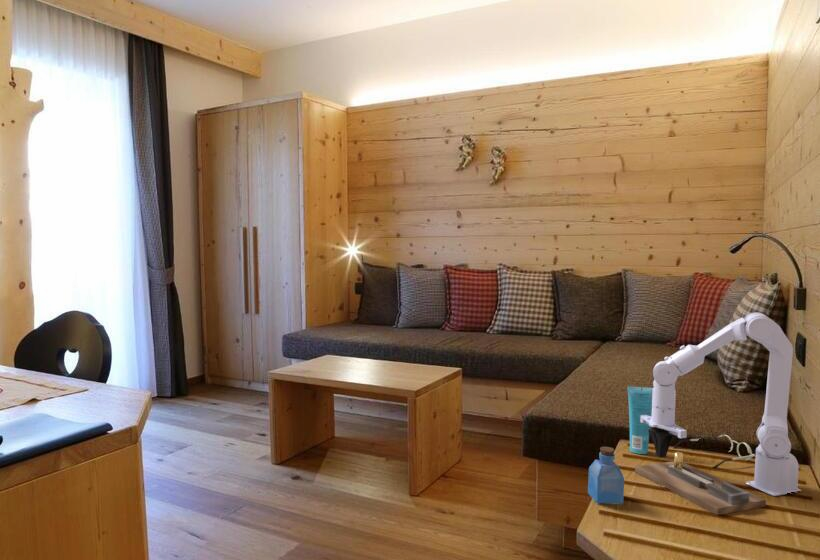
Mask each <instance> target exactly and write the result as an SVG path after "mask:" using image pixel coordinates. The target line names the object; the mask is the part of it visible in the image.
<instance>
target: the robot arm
mask: <svg viewBox="0 0 820 560" xmlns="http://www.w3.org/2000/svg"><path fill="white" fill-rule="evenodd" d="M747 336H748V337H749V338H751V339H752V340H753V341H755V342H757V343H759V344H761V345H762V346H763V347H764V348H766V349H767V351H769V357H768V365H767V366H768V367H767V368H768V369H767V378H766V379H767V380H766V391H765V392H766V393H765V401H764V402H765V403H764V412H763V415H762V418H761V423H760V425H759V427H757V429H756V437H757V440H758V441H759V444H758V446H757V447H756V448H755V455H756V456H755V457H754V458H755V463H754V476H753V479H754V480H750V481H746V482H745V485H748V486H750V487H751V488H754V489H756V490H758V491H762V492H763V493H766V494H768V495H770V496H771V497H778V496H782V495H788V494H787V493H790V494H792V493H791V492H795V493H797V492H796V491H800V492H801V491H802V489H800V488H799V485H798V484H799V466H800V465H799V462H798V460H797V458H796V456H794V454H792V453H791V449H792V443H791V440H790V439H789V436H788V435H789V427H788V421H787V419H788V410H789V397H790V388H791V377H792V368H793V367H792V366H793V365H792V364H793V353H794V347H793V345H792V343H791V342H790V340H789V339H788V337H787V336H786V334H785V333H784V331H783V329H782V328H781V326H780V325H779V324H778V323H777V322H775V321H774V320H773V319H771V318H770V317H768V315H766V314H765V313H762V312H758V311H757V312H755V311H754V312H750V313H748V314H746V315H745V316H744V317H740V318H738V319H736V320H734V321H732V322H731V323H729V324H728V325H726V326H724V327H722V328H721V329H720V330H718V331H717V332H715V333H714V334H712V335H711V336H709V337H708V338H706V339H705V340H703V341H702V342H700V343H699V344H697V345H693V344H687V345H686V346H685V344H683V345H681V346H680V347H679V350H678V351H676V352H675V353H673V354H672V355H669V356H668V355H667V356H665V357H664V358H663V359H664V360H662V361H658V362H657V363H656V364H655V365H654V367H653V369H652V375H653V379H654V380H653V381H652V384H653V385H652V386H653V387H652V388H653V393H652V410H651V416H648V415H641V419H640V422H641V423H646V424H649V426H650V429H649V430H648V432H649V436H650V438H651V439H652V443H653V446H654V450H655V456H657V457H658V458H666V457H667V455H668V451H669V449H670V447H671V445H672V442H673V441H674V439H675V437H677V438H678V439H687V437H688V436H687V434H688V432H687V429H684V428H682V427H681V426H680V425H678V424H676V423H675V419H676V398H677V396H676V395H677V391H676V382H677V380H678V377H681V376H684V375H686V374H688V373H689V372H692V371H693V370H695V369H696V368H698V367H699V366H701V365H703V364H704V362H705V357H706V356H707V355H709V354H711V353H713V352H715V351H717V350H718V349H720V348H722V347H724V346H726V345H727V344H729V343H731V342H732V341H748V339H747Z"/></svg>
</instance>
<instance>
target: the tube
mask: <svg viewBox="0 0 820 560" xmlns="http://www.w3.org/2000/svg"><path fill="white" fill-rule="evenodd" d="M653 388H654V387H642V386H641V387H640V386H639V387H638V386H629V385H628V386H627V395H628V417H629V419H628V420H629V451H630V453H631V452H632V453H634V454H637V455H647V454H648V452H649V444H650V443H649V442H650V433H649V432H648V430H649V429H651V426H649V424H646V423H641V422H640V419H641V415H648V416H652V393H653Z"/></svg>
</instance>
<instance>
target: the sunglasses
mask: <svg viewBox="0 0 820 560" xmlns="http://www.w3.org/2000/svg"><path fill="white" fill-rule="evenodd" d="M723 436H725V437H727V438H728V439H729V441H730V444H731V447H729V449H730V450H729V451H728V453H729V452H732V451H733V448H734V443H736V444H737V445H736V453H737V455H738V456H739V457H733V458H729V459H724V460H722V461H720V462H719V463H718V464H715V465H714V466H712V467H711V469H717V468H718V467H719V466H721V465H722V464H723V463H726V462H731V461H736V460H744V459H745V460H746V461H751V459H752V458H753V457H754V458H755V457H756V453H753V451H752V448H751V447H750V445H749V444H748V443H746V442H738V441H736V440H734V439H733V440H732V438H731V437H730V436H729V435H727V434H720V435H719V436H718V437H723ZM699 439H700V438H691V439H682V440H681V439H680V440H679V441H678V443H676V444H675V446H673V448H672V449H677V448H678V447H679V445H681V443H682V442H689V441H690V442H698V440H699ZM741 444H744V445H745V447H746V449H747V453H748V454H749V455H745V456H742V455H741V453H740V451H739V448H740V445H741Z"/></svg>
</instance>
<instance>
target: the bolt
mask: <svg viewBox="0 0 820 560" xmlns="http://www.w3.org/2000/svg"><path fill="white" fill-rule="evenodd" d="M673 461H674V465H672V466H669V467H673V468H675V469H677V470H679V471H681V472H683V473H686V474H688V475H690V476H692V477H694V478H696V479H698V480H700V481H702V487H704V488H706V489H707V488H708V485H713V483H712V482H710V481H708V480H706V479H704V478H702V477H700V476H697V475H695V474H693V473H691V472H689V471H687V470H685V469H682V464H683V462H684V453H683V452H681V451H674V455H673Z"/></svg>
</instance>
